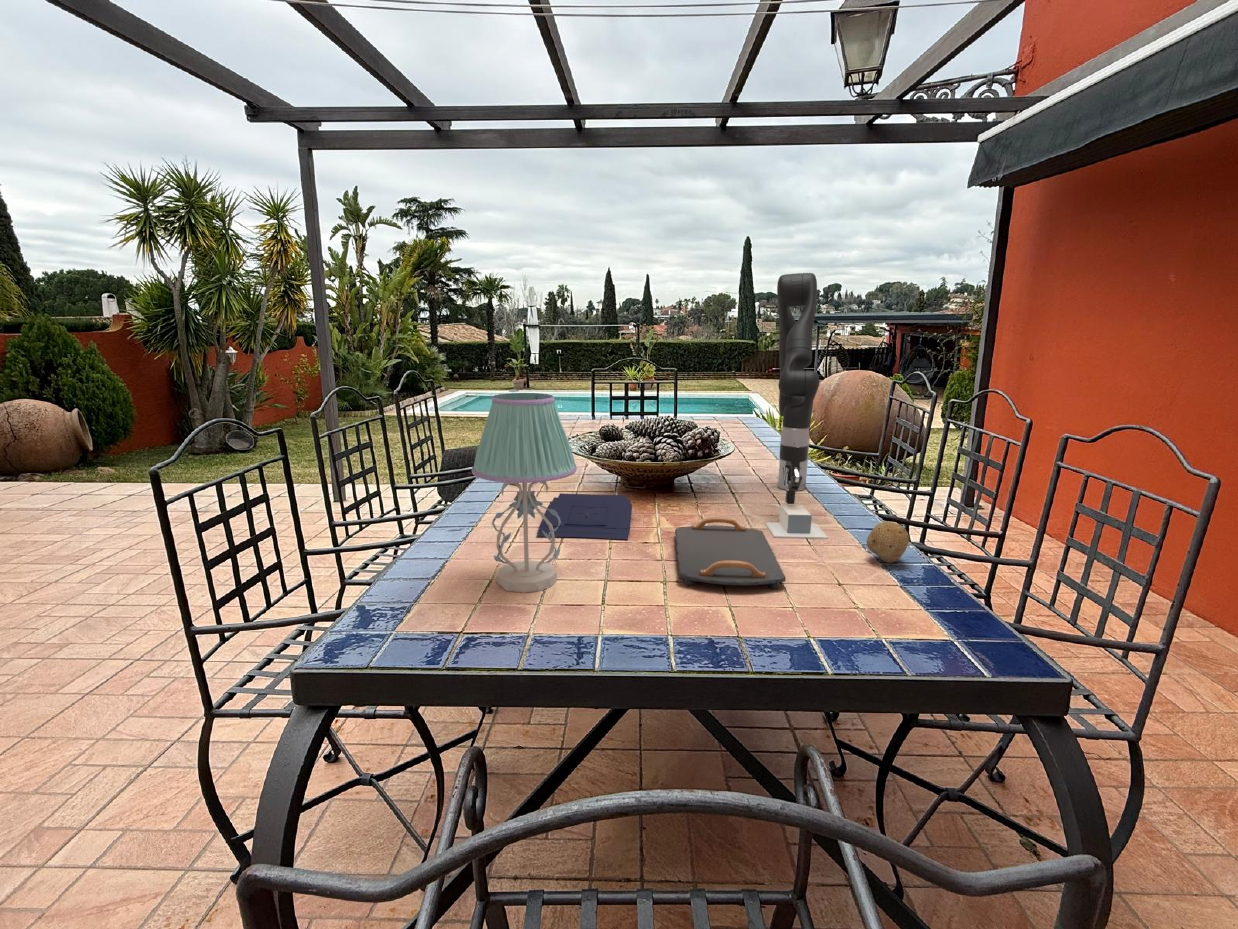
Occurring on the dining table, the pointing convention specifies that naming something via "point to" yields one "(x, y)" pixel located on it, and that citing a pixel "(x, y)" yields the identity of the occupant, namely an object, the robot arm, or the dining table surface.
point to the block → (795, 519)
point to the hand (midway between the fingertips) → (789, 503)
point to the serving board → (726, 555)
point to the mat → (780, 532)
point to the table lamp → (524, 474)
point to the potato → (888, 541)
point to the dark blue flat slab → (589, 516)
